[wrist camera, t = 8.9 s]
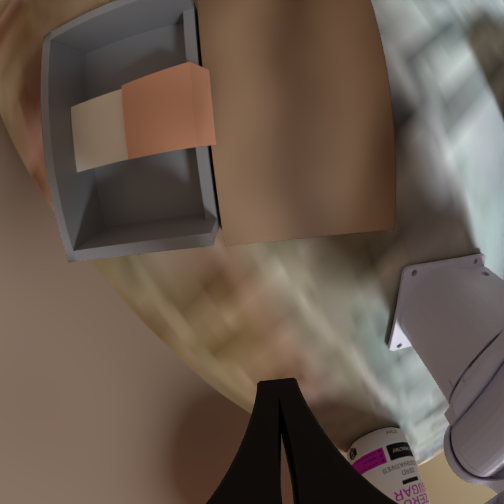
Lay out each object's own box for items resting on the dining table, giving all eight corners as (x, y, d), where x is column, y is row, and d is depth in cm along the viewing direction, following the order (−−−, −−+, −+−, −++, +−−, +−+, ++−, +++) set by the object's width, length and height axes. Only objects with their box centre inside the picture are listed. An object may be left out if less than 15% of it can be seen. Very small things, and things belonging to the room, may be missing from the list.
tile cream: (143, 92, 13) (130, 86, 11) (149, 155, 15) (136, 157, 13) (87, 109, 13) (70, 107, 11) (93, 168, 15) (77, 172, 13)
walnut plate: (357, 6, 11) (368, -6, 9) (380, 220, 17) (394, 229, 15) (201, 7, 11) (196, -7, 10) (227, 234, 17) (224, 246, 15)
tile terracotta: (209, 70, 11) (189, 61, 10) (216, 144, 13) (197, 146, 11) (144, 88, 12) (121, 85, 11) (151, 155, 14) (128, 159, 12)
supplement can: (345, 459, 30) (364, 541, 16) (346, 437, 27) (371, 537, 13) (396, 442, 29) (423, 519, 15) (405, 416, 26) (442, 507, 12)
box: (198, 14, 12) (184, -20, 7) (221, 219, 17) (212, 245, 12) (81, 51, 12) (43, 36, 8) (103, 235, 17) (68, 262, 13)
